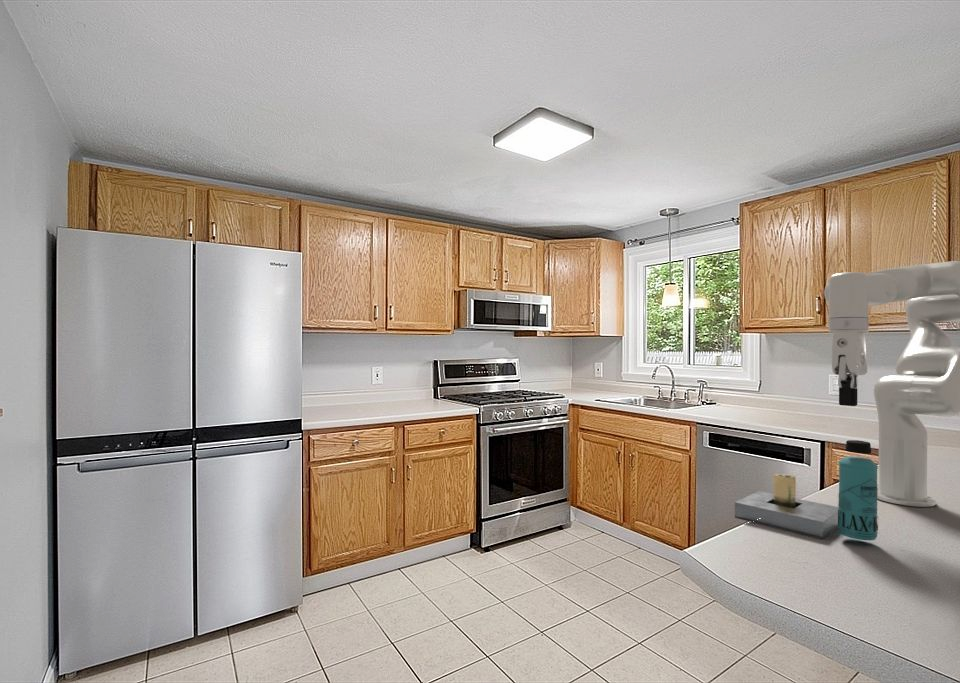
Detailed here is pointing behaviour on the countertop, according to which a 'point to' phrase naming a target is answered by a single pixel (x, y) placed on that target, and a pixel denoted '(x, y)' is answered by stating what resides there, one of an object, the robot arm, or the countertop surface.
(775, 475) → the bushing
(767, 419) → the countertop surface
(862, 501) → the beverage bottle
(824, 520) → the jig
